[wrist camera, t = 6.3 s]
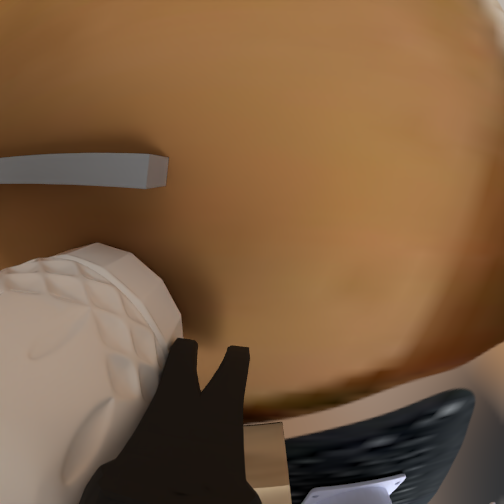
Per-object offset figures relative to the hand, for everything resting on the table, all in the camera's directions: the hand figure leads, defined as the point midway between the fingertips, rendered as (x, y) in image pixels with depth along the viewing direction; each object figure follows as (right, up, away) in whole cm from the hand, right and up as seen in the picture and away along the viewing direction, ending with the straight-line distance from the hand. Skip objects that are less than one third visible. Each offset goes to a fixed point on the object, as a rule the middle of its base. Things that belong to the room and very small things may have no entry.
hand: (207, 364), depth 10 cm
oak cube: (+1, -7, +4) cm, 8 cm away
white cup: (-4, +1, +2) cm, 5 cm away
